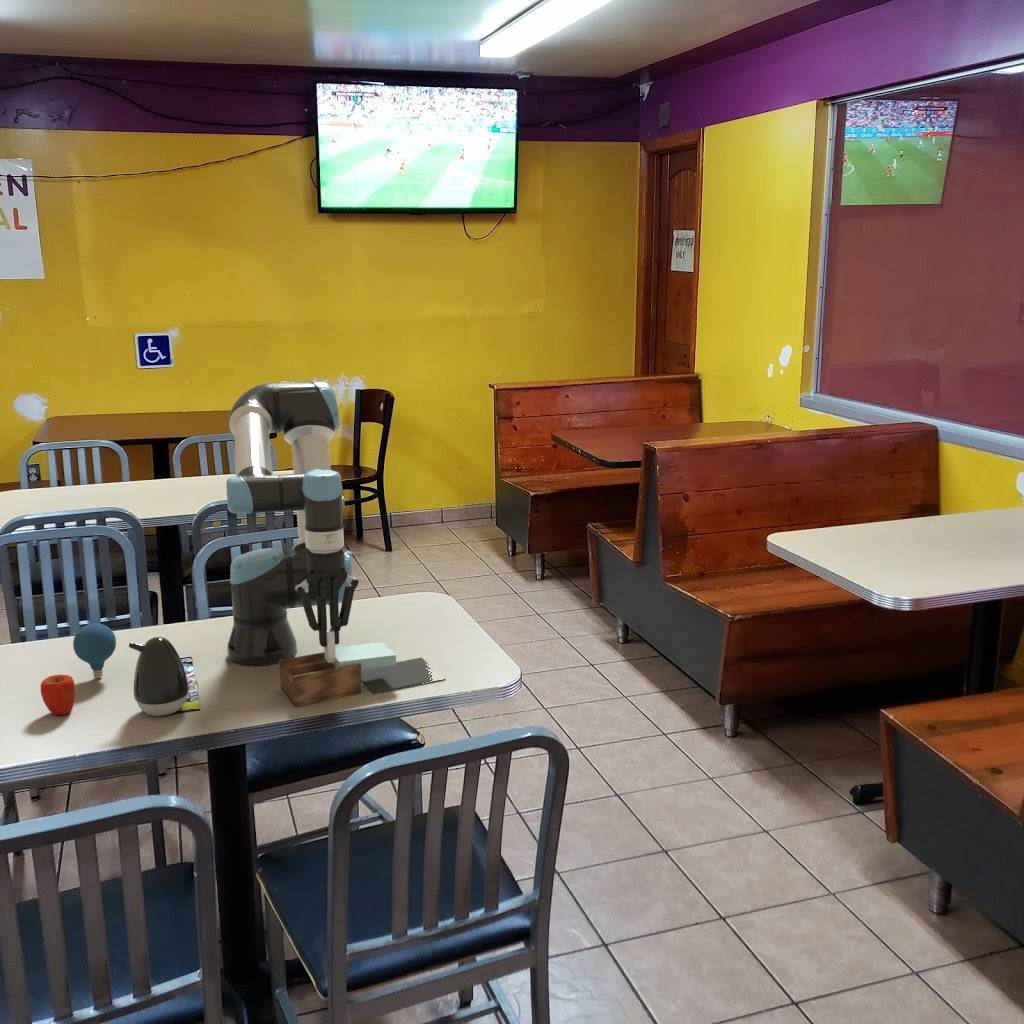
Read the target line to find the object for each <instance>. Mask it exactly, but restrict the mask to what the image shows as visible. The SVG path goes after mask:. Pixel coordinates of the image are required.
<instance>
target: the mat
mask: <svg viewBox="0 0 1024 1024" xmlns="http://www.w3.org/2000/svg"><path fill="white" fill-rule="evenodd" d="M425 662H426V663H425ZM427 663H428V662H427V661H426V660H425V659H424V658H423V657H417V658H411V659H407V660H402V661H396V665H393V666H385V667H377V668H369V669H361V678H362V685H364V686H365V687H366V688H367V689H368V690H369V691H370V693H372V694H373V695H377V694H383V693H387V692H392V690H393V691H397V690H396V689H398V690H403V689H406V687H407V688H411V687H410V686H412V687H415V686H414V685H417V686H419V685H418V684H422V683H426V682H430V681H432V680H433V679H432V678H431V677H432V675H430V674H431V673H432V672H431V673H430V674H428V673H429V672H430V671H428V669H431V668H429V667H428V666H427V665H426V664H427ZM429 664H430V663H429ZM429 664H428V665H429ZM426 668H428V669H426ZM429 676H430V677H429ZM430 678H431V680H430ZM422 685H423V684H422ZM402 688H403V689H402Z"/></svg>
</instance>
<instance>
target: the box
mask: <svg viewBox="0 0 1024 1024" xmlns="http://www.w3.org/2000/svg"><path fill="white" fill-rule="evenodd" d="M278 664H279V679H280V682H279V683H280V690H281V691H282V693H283V694H284V695H285V696H286V698H287V699H288V700H289V702H290V703H291V704H292V706H293V707H294V708H298V707H303V706H308V705H313V704H318V703H322V702H327V701H333V700H338V699H342V698H347V697H352V696H357V695H362V694H363V683H362V678H361V664H360V663H358V664H353V665H348V666H343V667H337V668H335V666H334V665H333V664H332V663H328V662H327V660H326V659H325V652H324V651H323V652H317V653H312V654H311V653H310V654H306V655H305V654H304V655H299V656H295V657H294V656H293V657H291V658H288V659H283V660H279V662H278Z"/></svg>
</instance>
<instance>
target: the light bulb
mask: <svg viewBox="0 0 1024 1024" xmlns="http://www.w3.org/2000/svg"><path fill="white" fill-rule="evenodd" d="M72 645H73V651H74V653H75V655H76V656H77V658H79V659H80V660H81V661H83V662H85V663H86V664H88V665H89V666H90V669H91V670H92V674H93V677H94V678H95V679H101V678H102V677H103V676H104V675H103V673H104V671H103V668H104V666H105V662H106V661H107V660H108V659H110V657H111V656H112V655H113V654H114V652H115V650H116V647H117V638H116V635H115V632H113V629H112V628H110V627H109V626H107V625H105V624H103V623H100V622H99V623H97V622H96V623H88V624H86V625H84V626H82V627H81V628H80V629H79V630H78V631H76V633H75V636H74V637H73V642H72Z"/></svg>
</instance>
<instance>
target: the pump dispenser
mask: <svg viewBox="0 0 1024 1024" xmlns="http://www.w3.org/2000/svg"><path fill="white" fill-rule="evenodd" d="M128 648H130V649H133V650H135V651H137V652H139V656H138V657H137V661H136V665H135V671H134V676H133V699H134V700H135V702H136V703H137V705H138V707H139V709H141V711H142V712H144V713H145V714H147V715H150V716H154V717H165V716H168V715H171V714H174V713H176V712H177V711H179V710H180V709H181V708H182V707H183V706H184V704H185V703H186V700H187V696H188V694H189V691H190V689H189V687H190V686H189V681H188V678H187V677H188V676H187V673H186V669H185V666H184V663H183V661H182V659H181V656H180V655H179V652H178V651H177V649H176V647H175V646H174V645H173V644H172V642H171V641H170V640H169V639H167V638H166V637H164V636H154V637H151V638H149V639H148V640H147V641H145V644H140V643H137V642H133V641H130V642H129V643H128Z"/></svg>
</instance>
